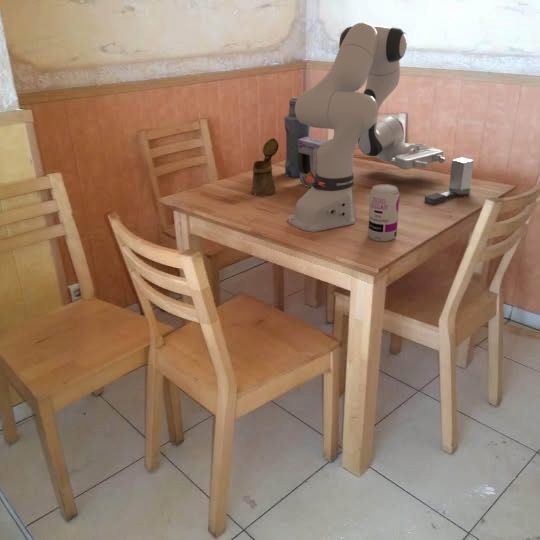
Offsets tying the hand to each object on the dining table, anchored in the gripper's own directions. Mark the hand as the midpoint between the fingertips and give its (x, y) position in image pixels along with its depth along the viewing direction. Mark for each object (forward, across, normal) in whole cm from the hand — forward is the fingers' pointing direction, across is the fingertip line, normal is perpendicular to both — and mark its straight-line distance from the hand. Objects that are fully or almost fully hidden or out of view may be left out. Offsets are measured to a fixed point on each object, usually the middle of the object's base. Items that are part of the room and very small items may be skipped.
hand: (435, 163), depth 201 cm
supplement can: (+22, -48, +9) cm, 54 cm away
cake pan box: (-26, -34, +9) cm, 43 cm away
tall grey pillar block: (+12, 0, +6) cm, 13 cm away
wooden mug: (-36, -50, +9) cm, 62 cm away
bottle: (-44, -29, +9) cm, 54 cm away
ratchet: (+12, -6, +8) cm, 16 cm away
